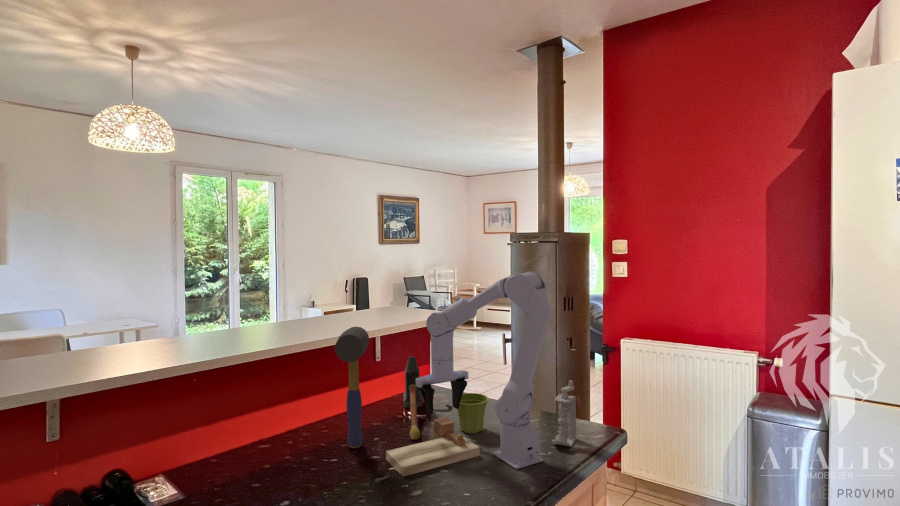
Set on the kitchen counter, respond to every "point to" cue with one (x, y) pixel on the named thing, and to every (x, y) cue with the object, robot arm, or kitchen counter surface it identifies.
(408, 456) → the board
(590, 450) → the kitchen counter surface
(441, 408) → the pale grey rock
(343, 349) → the rubber mallet
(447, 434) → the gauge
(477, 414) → the plant pot
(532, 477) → the kitchen counter surface
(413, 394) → the hammer
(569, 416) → the clamp
